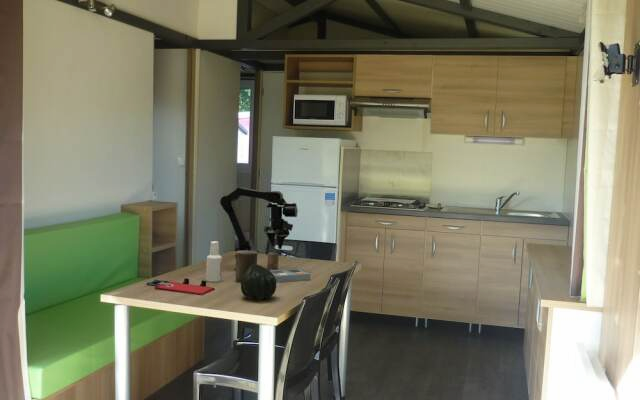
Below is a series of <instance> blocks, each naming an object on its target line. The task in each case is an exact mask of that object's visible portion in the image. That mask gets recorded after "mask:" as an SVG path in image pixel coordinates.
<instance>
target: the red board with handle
mask: <svg viewBox="0 0 640 400" xmlns="http://www.w3.org/2000/svg"><path fill="white" fill-rule="evenodd" d="M145 284H146V285H154V290H156V291H157V290H158V291H165V292H175V293H181V294H189V295H195V294H196V295H197V296H203V295H206V294H208V293H210V292H213V291H215V290H216V289H215V287H211V286H207V281H206V280H201V281H200V284H199V285H197V284H190V278H184V280H183V282H181V283H180V282H175V281H169V280H161V279H154V280H151V281H149V282H146V283H145Z"/></svg>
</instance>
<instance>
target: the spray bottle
mask: <svg viewBox="0 0 640 400" xmlns="http://www.w3.org/2000/svg"><path fill="white" fill-rule="evenodd" d="M209 249H210V250H209V255H207V256H206V265H205V266H206V267H205V270H206V271H205V281H206V282H209V283H210V282H211V283H217V282H221V281H222V266H223V265H222V263H223V262H222V260H223V257H222V256H221V255H220V246H219V241H215V240H213V241H212V240H211V242H210V247H209Z"/></svg>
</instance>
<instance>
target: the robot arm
mask: <svg viewBox="0 0 640 400" xmlns="http://www.w3.org/2000/svg"><path fill="white" fill-rule="evenodd" d="M242 196H243V197H249V198H256V199H261V200H265V201H266V202H269V203H268V204H267V205H266V208H267V209H268V208H270V217H269V219H268V221H270V225H265V226H264V227H263V232H264V233H265V235H266V237H267V240H268V242H269V243H270V246H271V248H273V247H274V246H275V240H276V244H277V248H278V250H282V247H283V244H284V241H285V239H286V238H287V237H289V236H290V232H291V231H293V227H294V224H292V223H289V221H288V220H285V219H284V218H283V216H284V217H285V218H297V217H298V206H297V203H296V202H293V203H288V202H287V201H286V199H285V198H284V194H283V193H282V192H281V191H279V190H272V191H271V190H270V191H269V190H267V191H264V190H259V189H253V188H245V187H243V186H240V187H239V186H238V187H237V188H235V190H233V191H232V192H231V193H229V194H227V195H223V196H222V197H221V198H220V200H219V203H220V206H221V208H223V210H224V211H225V213H226V214H227V216H228V218H229V220H230V223H231V225H232V228H233V230H234V234H235V235H236V237H237V238H236V239H237V241H238V251H243V250H246V251H247V250H248V251H255V244H254V243H253V239H252V238H251V239H249V237H248V236H247V234H246V232H245V229H244V227H243V224H242V222H241V220H240V217H239V214H238V212H237V204H236V201H238V200H239V199H240V198H241V197H242ZM234 257H235V259H236V258H237V253H236V254H235V255H234ZM233 270H235V271H236V267H235V268H234V269H233Z"/></svg>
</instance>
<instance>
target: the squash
mask: <svg viewBox="0 0 640 400" xmlns="http://www.w3.org/2000/svg"><path fill="white" fill-rule="evenodd" d="M240 290H241V293H242V295H243V296H244V297H245V298H247V299H250V300H252V301H256V300H257V301H263V300H264V299H267V298H270V297H272V296H274V295H275V293H276V290H277V283H276V278H275V276H274V275H273V273H272V272H271V271H270V270H268V269H267V267H264V266H262V265H260V264H258V263H257V264H252V265H251V266H250V268H249V269H248V270H247V272H246V273H245V274H244V276H243V279H242V281H241V282H240Z"/></svg>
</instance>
